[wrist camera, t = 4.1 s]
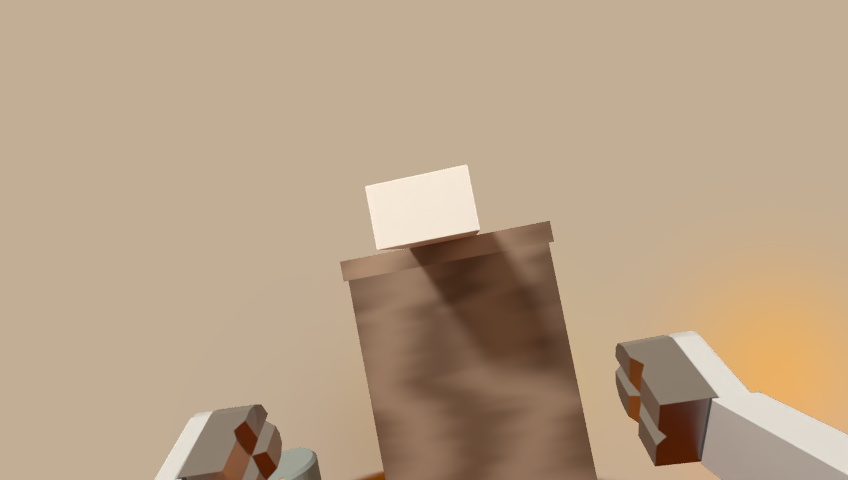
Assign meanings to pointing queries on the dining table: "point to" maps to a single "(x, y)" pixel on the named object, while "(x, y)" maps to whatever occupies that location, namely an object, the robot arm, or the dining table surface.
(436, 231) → the cream rectangular block
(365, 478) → the dining table surface
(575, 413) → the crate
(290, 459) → the air freshener
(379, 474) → the dining table surface
